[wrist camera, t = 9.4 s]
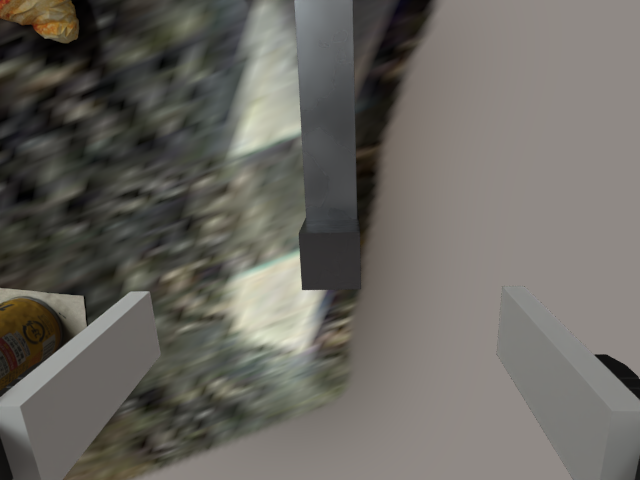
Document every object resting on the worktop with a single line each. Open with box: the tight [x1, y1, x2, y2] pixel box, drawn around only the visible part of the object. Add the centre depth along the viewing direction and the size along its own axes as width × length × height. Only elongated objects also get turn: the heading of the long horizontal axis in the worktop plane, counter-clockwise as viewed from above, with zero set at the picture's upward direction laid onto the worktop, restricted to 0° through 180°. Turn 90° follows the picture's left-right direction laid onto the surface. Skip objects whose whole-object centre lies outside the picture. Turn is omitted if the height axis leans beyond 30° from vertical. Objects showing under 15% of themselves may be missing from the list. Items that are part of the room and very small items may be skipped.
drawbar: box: [294, 0, 361, 290], centre depth 24 cm, size 23×3×8 cm, turn 3°
